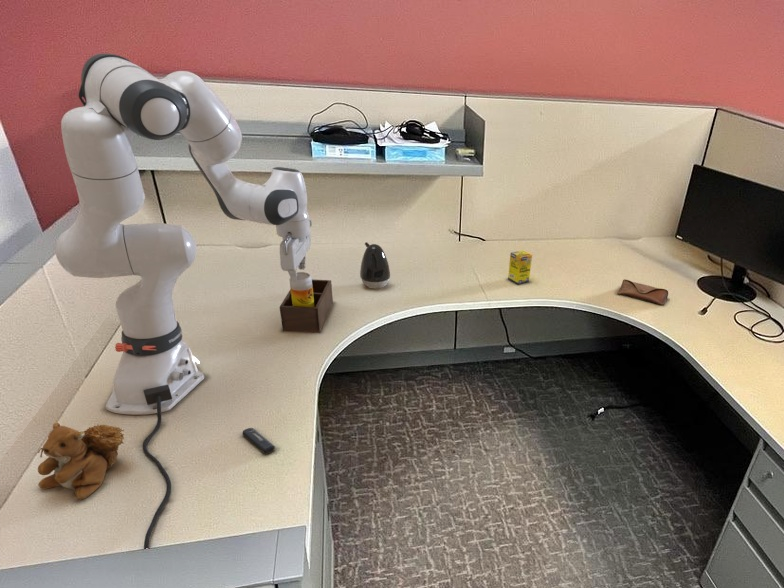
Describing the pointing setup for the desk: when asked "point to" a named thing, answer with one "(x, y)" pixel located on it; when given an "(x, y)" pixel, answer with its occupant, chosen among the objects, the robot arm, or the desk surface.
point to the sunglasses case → (643, 292)
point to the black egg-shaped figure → (374, 267)
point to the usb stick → (258, 440)
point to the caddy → (308, 310)
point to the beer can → (302, 291)
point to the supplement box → (519, 267)
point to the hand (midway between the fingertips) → (298, 274)
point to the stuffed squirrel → (79, 457)
